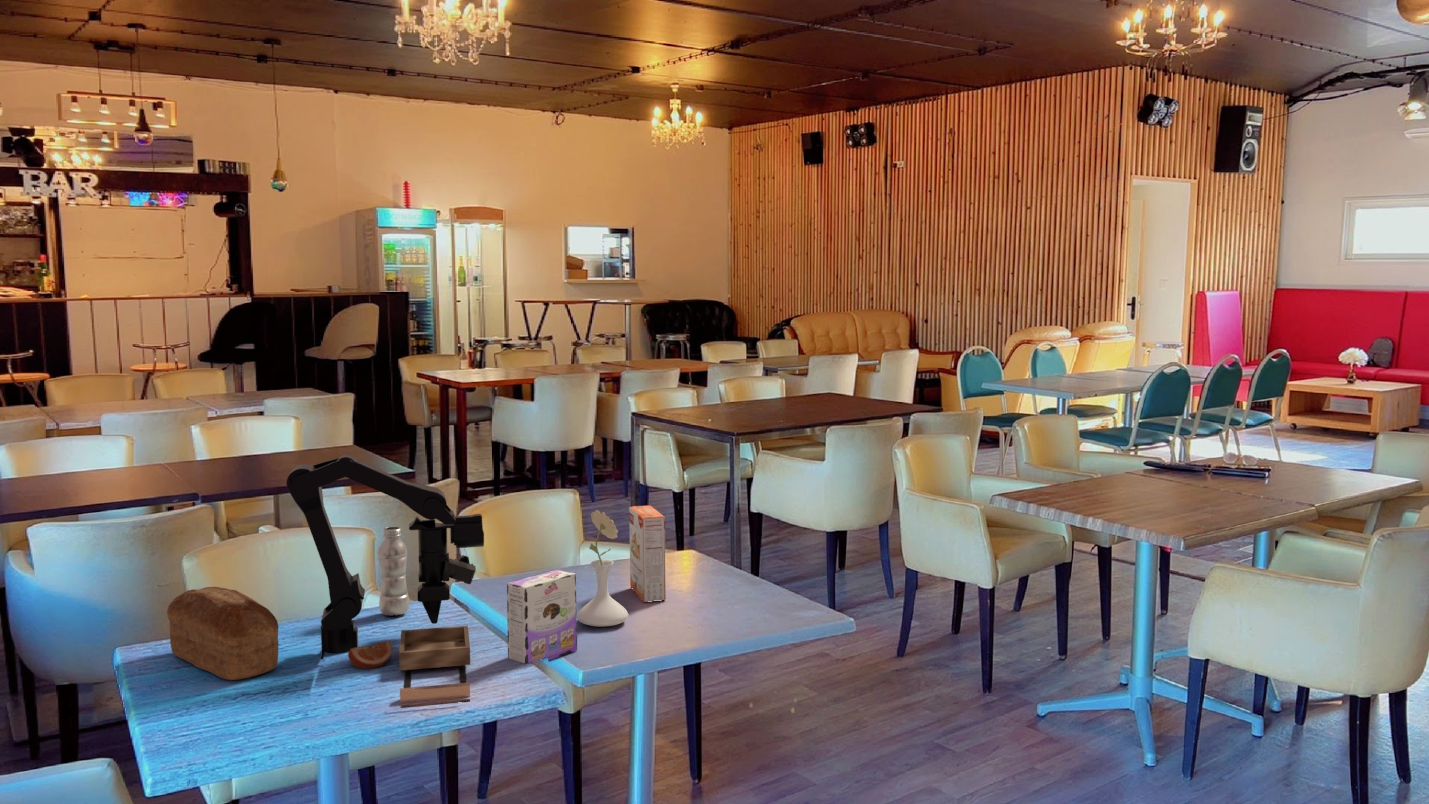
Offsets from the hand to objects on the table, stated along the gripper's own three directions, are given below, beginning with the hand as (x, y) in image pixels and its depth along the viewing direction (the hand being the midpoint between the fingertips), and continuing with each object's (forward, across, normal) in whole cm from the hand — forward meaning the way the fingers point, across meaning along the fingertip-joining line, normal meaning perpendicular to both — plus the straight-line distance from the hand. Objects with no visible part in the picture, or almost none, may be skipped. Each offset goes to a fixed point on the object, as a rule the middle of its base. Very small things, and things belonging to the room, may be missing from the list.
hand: (434, 623), depth 220 cm
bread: (+5, -1, +40) cm, 41 cm away
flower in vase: (+5, +8, -36) cm, 37 cm away
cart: (+4, -12, 0) cm, 13 cm away
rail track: (+5, -20, 0) cm, 20 cm away
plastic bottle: (+5, +24, +9) cm, 27 cm away
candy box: (+5, -12, -21) cm, 25 cm away
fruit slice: (+5, -12, +12) cm, 17 cm away
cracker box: (+5, +26, -50) cm, 57 cm away
